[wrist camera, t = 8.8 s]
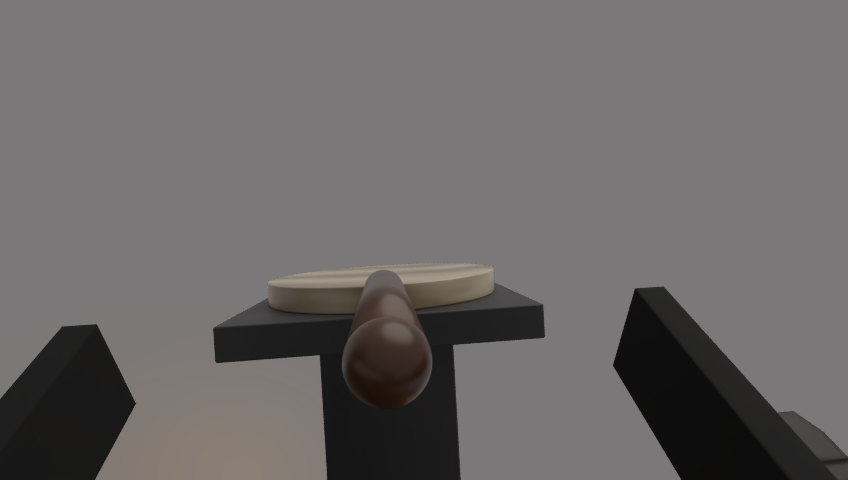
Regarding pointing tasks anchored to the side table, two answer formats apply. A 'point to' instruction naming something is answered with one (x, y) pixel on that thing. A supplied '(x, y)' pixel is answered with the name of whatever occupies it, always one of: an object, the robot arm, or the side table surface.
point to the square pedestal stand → (372, 427)
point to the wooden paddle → (383, 319)
